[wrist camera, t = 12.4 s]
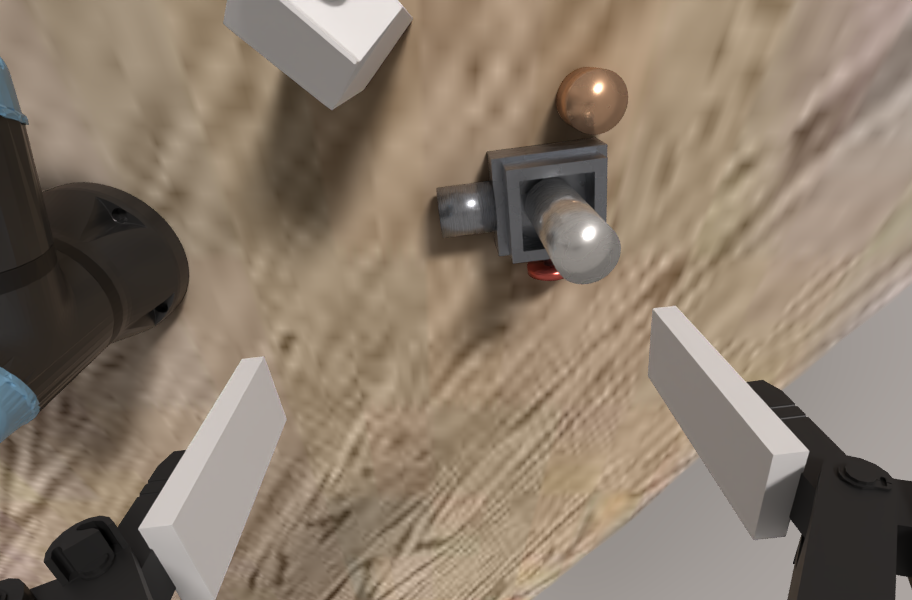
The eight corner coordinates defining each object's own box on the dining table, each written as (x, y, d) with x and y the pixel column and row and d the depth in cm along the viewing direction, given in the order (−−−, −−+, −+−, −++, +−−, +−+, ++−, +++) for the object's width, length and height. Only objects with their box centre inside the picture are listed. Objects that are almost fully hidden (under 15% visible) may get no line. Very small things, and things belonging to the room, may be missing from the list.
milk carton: (363, 90, 43) (317, 120, 26) (292, 30, 41) (190, 21, 24) (413, 18, 41) (399, -1, 24) (340, -50, 38) (266, -124, 22)
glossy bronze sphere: (557, 131, 45) (567, 138, 42) (555, 71, 43) (566, 73, 39) (611, 123, 45) (626, 130, 42) (613, 63, 43) (629, 64, 39)
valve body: (449, 274, 51) (450, 303, 45) (433, 158, 46) (432, 175, 40) (594, 256, 51) (614, 283, 45) (595, 137, 46) (618, 151, 40)
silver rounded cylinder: (526, 231, 46) (554, 287, 35) (523, 181, 44) (552, 226, 33) (576, 224, 46) (619, 279, 35) (575, 175, 44) (621, 217, 33)
